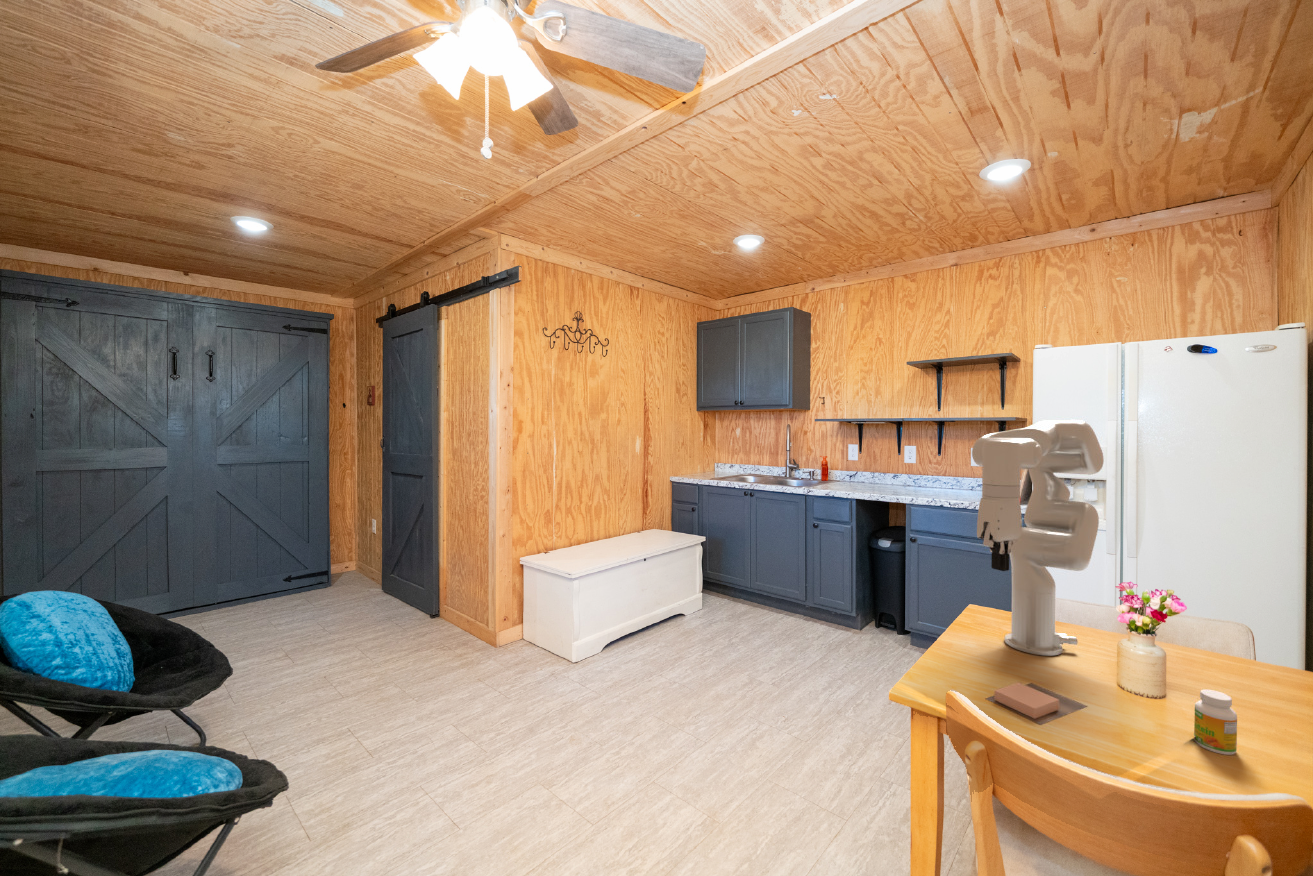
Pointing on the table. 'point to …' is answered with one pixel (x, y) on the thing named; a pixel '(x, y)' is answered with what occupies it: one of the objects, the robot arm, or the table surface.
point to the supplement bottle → (1215, 723)
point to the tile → (1026, 700)
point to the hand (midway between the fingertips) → (1000, 569)
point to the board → (1064, 708)
